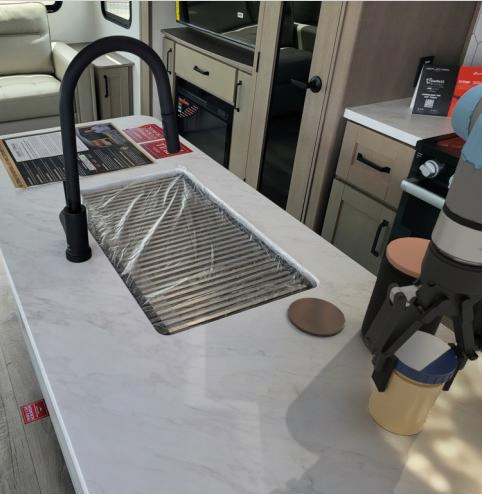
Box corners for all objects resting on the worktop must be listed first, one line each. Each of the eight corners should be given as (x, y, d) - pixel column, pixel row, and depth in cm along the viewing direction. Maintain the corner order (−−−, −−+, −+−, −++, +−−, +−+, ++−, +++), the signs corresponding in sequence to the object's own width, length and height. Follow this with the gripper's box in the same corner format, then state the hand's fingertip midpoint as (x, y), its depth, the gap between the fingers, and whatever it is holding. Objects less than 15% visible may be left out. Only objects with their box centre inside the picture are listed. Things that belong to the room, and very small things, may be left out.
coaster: (338, 301, 91) (338, 299, 90) (350, 338, 82) (351, 336, 82) (284, 298, 92) (285, 295, 91) (291, 334, 83) (292, 332, 83)
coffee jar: (420, 326, 85) (455, 242, 75) (432, 370, 76) (473, 282, 66) (357, 315, 87) (382, 233, 77) (362, 357, 79) (391, 270, 69)
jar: (413, 393, 73) (438, 339, 66) (432, 437, 66) (461, 382, 60) (362, 389, 73) (381, 335, 67) (376, 433, 67) (399, 377, 61)
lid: (417, 332, 68) (421, 323, 67) (468, 373, 62) (473, 363, 61) (372, 348, 66) (375, 339, 65) (421, 393, 59) (425, 383, 58)
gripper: (388, 269, 51) (343, 407, 63) (584, 266, 51) (500, 404, 63) (362, 232, 57) (325, 364, 69) (536, 229, 57) (468, 362, 69)
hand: (409, 383), depth 66 cm, fingers closed on lid, 8 cm apart
